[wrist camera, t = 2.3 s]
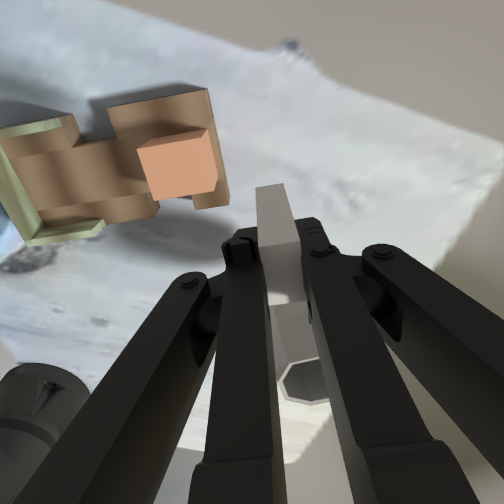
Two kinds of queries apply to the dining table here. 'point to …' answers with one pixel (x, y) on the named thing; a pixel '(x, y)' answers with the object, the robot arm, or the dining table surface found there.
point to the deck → (95, 169)
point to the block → (179, 164)
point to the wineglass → (297, 355)
